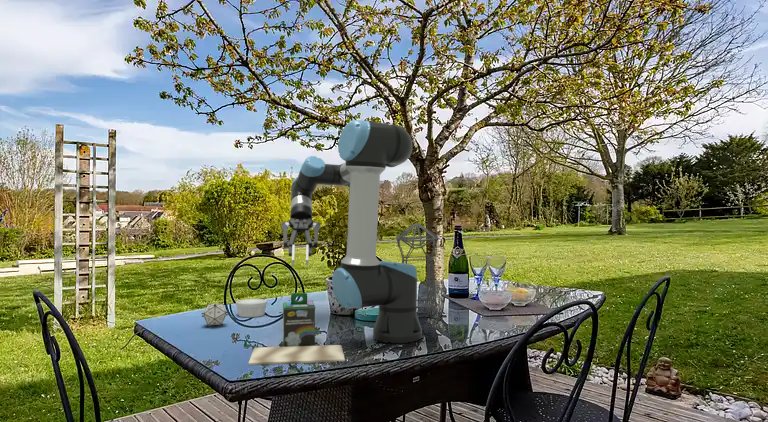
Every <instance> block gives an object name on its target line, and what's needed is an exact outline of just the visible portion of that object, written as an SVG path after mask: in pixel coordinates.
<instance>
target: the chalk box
mask: <svg viewBox="0 0 768 422" xmlns="http://www.w3.org/2000/svg"><path fill="white" fill-rule="evenodd" d="M298 297H301V298H302V300H296V299H297V298H298ZM282 323H283V324H282V327H283V328H282V330H283V335H282V337H283V340H282V342H283V343H282V345H283V346H282V347H291V346H316V306H315V302H314V301H313V300H308V293H307V292H295V293H291V295H290V301H285V302H283V303H282Z"/></svg>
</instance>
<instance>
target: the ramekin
mask: <svg viewBox="0 0 768 422" xmlns="http://www.w3.org/2000/svg"><path fill="white" fill-rule="evenodd" d="M267 303H268V301H267V300H266V299H262V298H249V299H247V298H246V299H241V300H240V299H239V300H237V301H236V302H235V305H236V311H237V315H238V316H239V317H240V318H246V319H247V318H257V317H260V318H261V317H262V316H264V315H265V314H266V309H267Z"/></svg>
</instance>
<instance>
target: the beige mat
mask: <svg viewBox="0 0 768 422" xmlns="http://www.w3.org/2000/svg"><path fill="white" fill-rule="evenodd" d="M248 360H249V361H248V366H254V365H255V366H257V365H259V366H260V365H281V364H283V365H284V364H306V363H307V364H309V363H311V364H313V363H333V362H335V363H338V362H337V361H341V362H345V361H346V359H345V355H344V351H343V346H342V345H341V344H333V345H332V344H330V345H329V344H327V345H326V344H325V345H323V344H322V345H315V346H291V347H284V346H271V347H270V346H263V347H254V348H253V350H252V353H251V355H250V358H249V359H248Z"/></svg>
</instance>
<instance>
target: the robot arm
mask: <svg viewBox="0 0 768 422" xmlns="http://www.w3.org/2000/svg"><path fill="white" fill-rule="evenodd" d="M337 146H338V147H337V149H338V153H339V158H341V159H342V160H343V161H345V162H343V163H341V164H333V163H332V164H331V163H325V161H324V160H323V159H322V158H321V157H317V156H316V155H315V156H314V155H310V156H307V157H306V158H305V159H304V161H303V163H302V165H301V167H300V170H299V173H298V175H297V177H295V178H294V179H293V180H292V182H291V189H290V192H291V193H290V213H289V214H290V215H289V216H290V217H289V218H290V219H289V220H288V221H287V222H285V221H282V222H281V226H280V227H281V230H282V234H283V235H282V236H283V237H282V238H283V239H282V240H283V241H282V243H283V248H284V249H286V248H287V249H288V257H291V266H295V261H296V260H295V257H296V245H295V242H296V239H297V235H298V233H304V237H305V240H306V244H305V245H306V246H305V266H309V257H312V255H313V249H317V248H318V245H319V243H318V241H319V231H320V230H321V222H320V221H319V222H314V220H313V194H314V192H315V190H316V188H317V186H318V185H322V186H324V185H325V186H344V187H349V195H348V198H349V199H348V213H347V214H348V217H347V234H346V235H347V239H346V254H345V256H344V257H343V258H342V259H341V260H340V267H338V268H337V269H335V270H334V271H333V274H332V277H331V285H332V291H333V294H334V297H335V299H336V300H337V302H338V304H339V305H340V306H341V307H342V308H345V309H356V310H357V309H361V308H368V307H377V306H378V314H377V317H376V321H375V322H374V326H373V329H372V337H373V339H374V338H375V339H374V340H376V339H377V341H378V340H379V341H378V342H382V341H384V342H383V343H388V342H391V343H390V344H409V343H408V342H410V343H415V342H414V341H416V342H418V341H417V340H419V339H421V338H423V330H422V326H421V323H420V320H419V319H420V318H418V317H419V316H418V313H417V312H418V310H417V309H418V308H417V306H418V305H417V304H418V303H417V302H418V301H417V300H418V299H417V298H418V297H417V295H418V291H417V290H418V274H417V273H418V272H417V267H416V266H415V265H413V264H409V263H407V264H405V262H404V263H402V262H395V261H385V260H381V261H380V260H379V259H378V258H377V242H378V241H377V240H378V238H377V237H378V223H379V222H378V221H379V203H380V202H379V200H380V182H381V181H380V180H381V174H382V173H383V172H385V170H386V168H395V167H398V166H400V165H401V164H403V163H405V162H406V161H407V160H409V159H410V157H411V155H412V153H413V139H412V137H411V135H410V134H409V132H408V131H407V130H406V129H405V128H403V127H401V126H400V125H396V124H391V123H390V124H389V123H383V122H377V121H373V120H372V121H371V120H359V119H354V120H351V121H349V122H348V123H347V124H346V125H345V126H344V128H343V129H342V131H341V133H340V135H339V139H338V145H337ZM289 227H290V228H291V229H292V232H291V235H290V238H289V241H288V229H289ZM312 227H313V230H314V235H313V241H312V238H311V235H310V229H311V228H312ZM319 227H320V228H319ZM314 237H315V239H314ZM316 239H317V240H316ZM310 254H311V255H310ZM421 340H422V339H421ZM419 341H420V340H419Z"/></svg>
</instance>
